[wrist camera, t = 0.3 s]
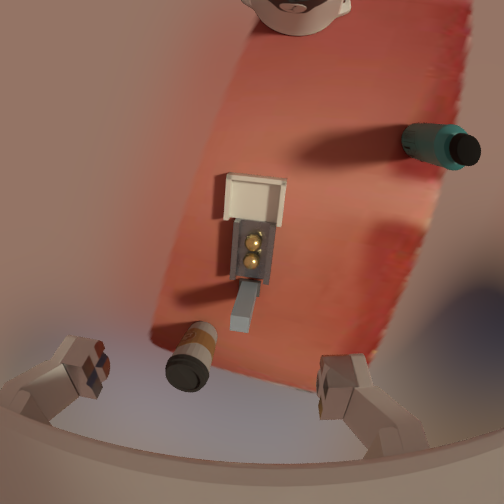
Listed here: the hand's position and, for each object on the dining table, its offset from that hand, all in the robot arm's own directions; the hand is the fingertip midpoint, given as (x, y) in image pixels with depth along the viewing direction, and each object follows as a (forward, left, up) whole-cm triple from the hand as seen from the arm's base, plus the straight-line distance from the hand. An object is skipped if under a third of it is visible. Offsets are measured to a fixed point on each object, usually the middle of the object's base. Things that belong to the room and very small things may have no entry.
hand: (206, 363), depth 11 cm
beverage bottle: (-10, +23, -47) cm, 54 cm away
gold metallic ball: (+12, -3, -46) cm, 48 cm away
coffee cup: (+35, -12, -47) cm, 60 cm away
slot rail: (+14, -3, -47) cm, 49 cm away
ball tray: (+5, -3, -47) cm, 47 cm away
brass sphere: (+16, -3, -46) cm, 49 cm away
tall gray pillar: (+22, -3, -47) cm, 52 cm away
